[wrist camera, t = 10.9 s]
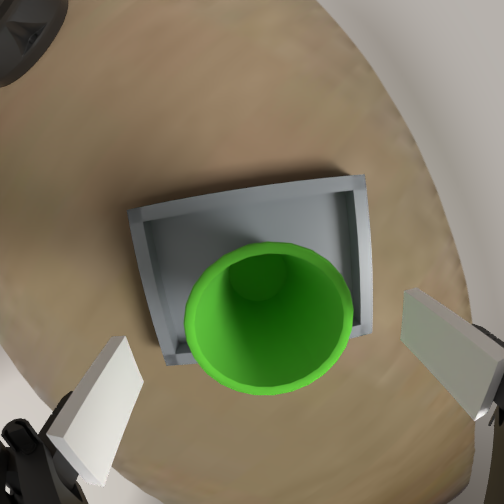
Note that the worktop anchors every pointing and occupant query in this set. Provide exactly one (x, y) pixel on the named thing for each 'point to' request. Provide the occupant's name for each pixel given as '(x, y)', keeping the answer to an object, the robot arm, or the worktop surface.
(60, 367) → the worktop surface
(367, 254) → the grey tray
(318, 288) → the cup
